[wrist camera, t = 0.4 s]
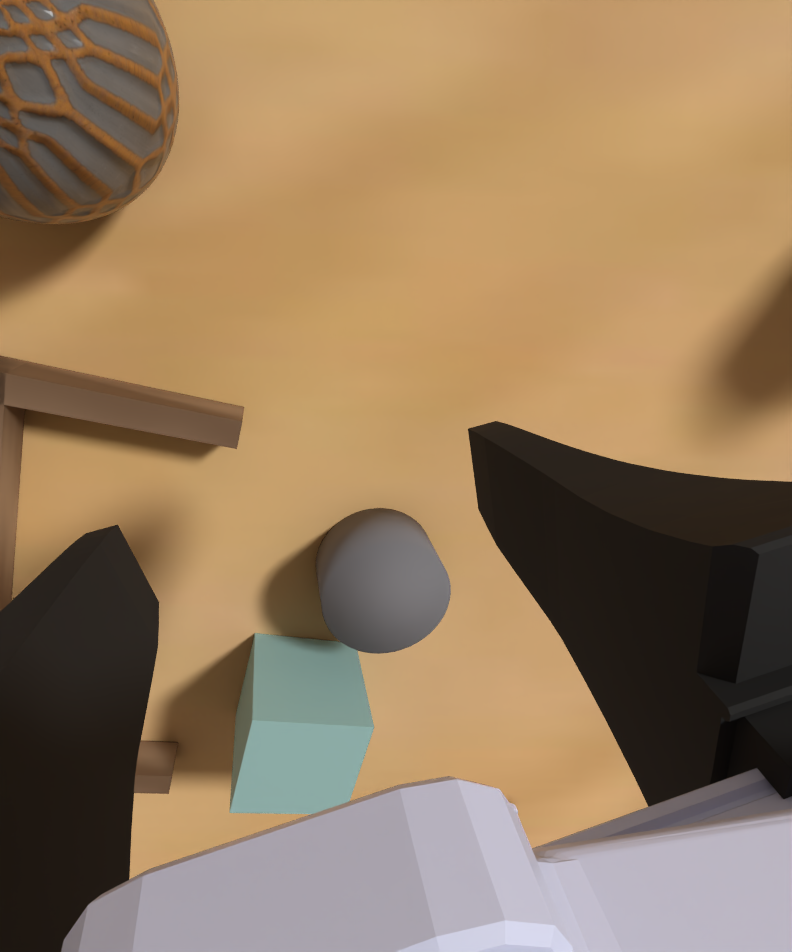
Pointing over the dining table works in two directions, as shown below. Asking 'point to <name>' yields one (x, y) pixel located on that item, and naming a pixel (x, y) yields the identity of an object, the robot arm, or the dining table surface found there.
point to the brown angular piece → (114, 403)
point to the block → (299, 726)
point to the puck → (380, 581)
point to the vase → (82, 106)
